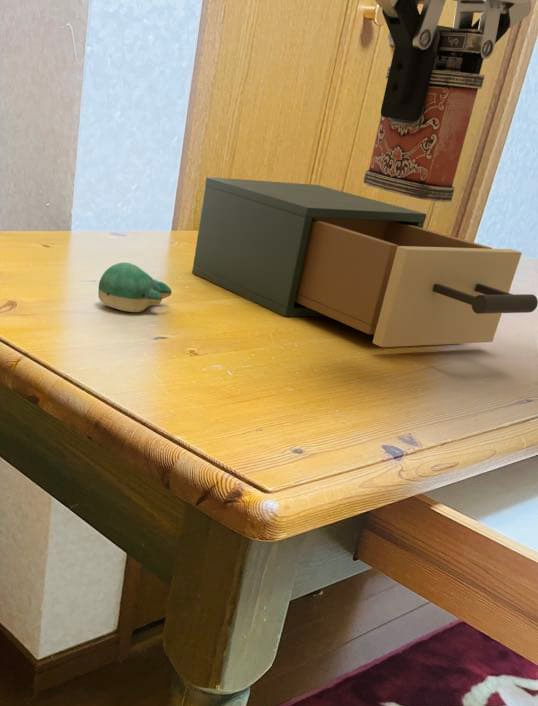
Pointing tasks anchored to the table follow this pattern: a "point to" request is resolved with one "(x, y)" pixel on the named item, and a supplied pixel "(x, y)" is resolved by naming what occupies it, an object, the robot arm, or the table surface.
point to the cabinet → (272, 235)
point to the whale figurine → (130, 288)
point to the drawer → (408, 282)
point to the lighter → (430, 126)
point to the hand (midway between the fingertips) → (423, 118)
